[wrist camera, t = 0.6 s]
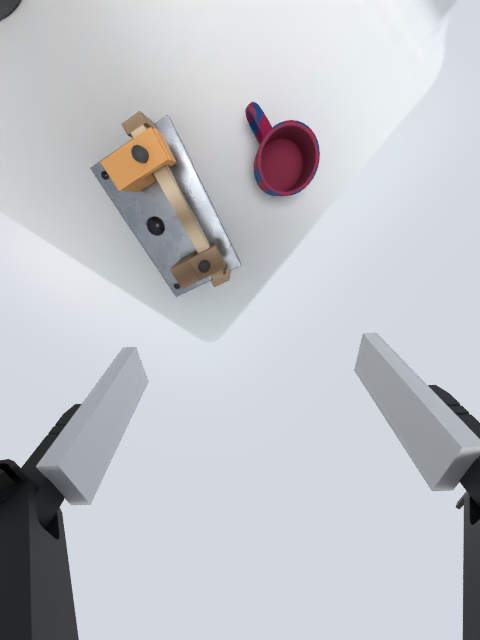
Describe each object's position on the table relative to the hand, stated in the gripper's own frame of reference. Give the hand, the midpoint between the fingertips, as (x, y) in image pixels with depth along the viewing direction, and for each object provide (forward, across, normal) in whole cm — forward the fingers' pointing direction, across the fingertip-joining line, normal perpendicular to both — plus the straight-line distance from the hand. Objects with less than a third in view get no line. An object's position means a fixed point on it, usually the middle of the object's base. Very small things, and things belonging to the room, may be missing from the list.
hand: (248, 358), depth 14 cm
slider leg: (+25, -11, +12) cm, 30 cm away
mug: (+26, +5, +12) cm, 29 cm away
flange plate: (+26, -10, +6) cm, 28 cm away
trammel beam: (+25, -9, +6) cm, 27 cm away
